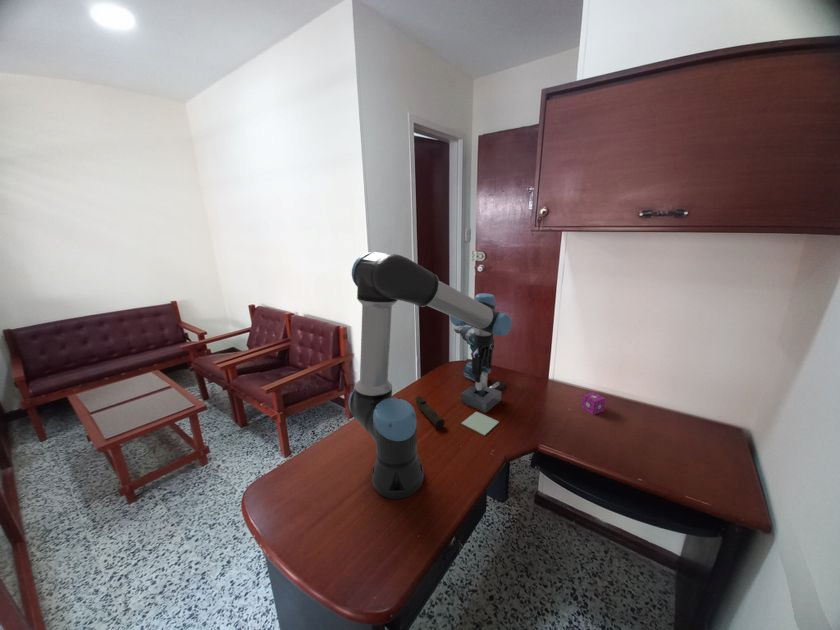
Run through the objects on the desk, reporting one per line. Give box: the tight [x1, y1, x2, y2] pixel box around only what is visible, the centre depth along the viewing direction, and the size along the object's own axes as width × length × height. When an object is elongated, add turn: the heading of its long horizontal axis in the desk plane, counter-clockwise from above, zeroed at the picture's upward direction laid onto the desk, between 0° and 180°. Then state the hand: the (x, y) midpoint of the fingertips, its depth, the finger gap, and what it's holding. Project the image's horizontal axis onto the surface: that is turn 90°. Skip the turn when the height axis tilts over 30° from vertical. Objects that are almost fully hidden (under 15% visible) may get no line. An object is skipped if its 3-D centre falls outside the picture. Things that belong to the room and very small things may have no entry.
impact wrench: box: [453, 325, 495, 382], centre depth 146 cm, size 8×23×25 cm, turn 40°
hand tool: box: [415, 395, 445, 430], centre depth 120 cm, size 19×4×5 cm, turn 25°
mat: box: [460, 411, 500, 436], centre depth 115 cm, size 10×10×1 cm
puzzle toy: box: [580, 391, 606, 416], centre depth 121 cm, size 6×6×6 cm
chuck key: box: [477, 366, 492, 397], centre depth 127 cm, size 7×3×14 cm, turn 47°
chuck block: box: [460, 381, 502, 414], centre depth 131 cm, size 20×12×4 cm, turn 137°
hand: (481, 386), depth 127 cm, fingers closed on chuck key, 3 cm apart
